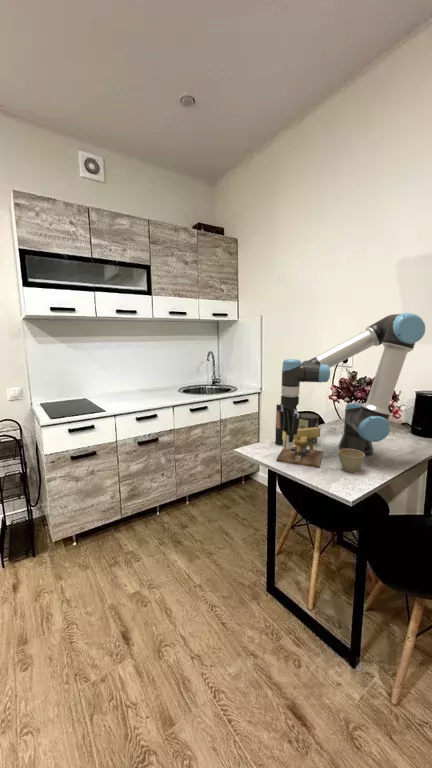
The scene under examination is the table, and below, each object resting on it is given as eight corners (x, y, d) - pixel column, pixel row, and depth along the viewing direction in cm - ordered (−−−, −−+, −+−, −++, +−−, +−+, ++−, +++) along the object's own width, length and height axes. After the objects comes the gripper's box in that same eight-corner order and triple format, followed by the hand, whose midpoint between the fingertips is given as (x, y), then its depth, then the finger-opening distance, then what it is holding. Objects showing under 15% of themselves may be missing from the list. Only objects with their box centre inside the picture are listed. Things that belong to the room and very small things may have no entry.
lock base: (322, 453, 155) (323, 441, 154) (319, 468, 138) (319, 454, 137) (284, 447, 161) (284, 436, 160) (276, 461, 145) (276, 448, 144)
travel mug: (290, 446, 163) (292, 407, 160) (274, 445, 165) (276, 406, 161) (290, 441, 170) (292, 403, 167) (275, 440, 172) (276, 402, 169)
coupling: (312, 443, 156) (313, 425, 154) (323, 448, 148) (324, 430, 147) (278, 447, 150) (279, 428, 148) (288, 453, 142) (288, 434, 141)
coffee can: (317, 440, 173) (319, 414, 171) (316, 446, 163) (318, 419, 161) (297, 438, 176) (298, 412, 174) (295, 444, 167) (296, 417, 164)
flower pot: (338, 463, 144) (339, 447, 143) (363, 466, 140) (364, 450, 139) (336, 472, 135) (338, 455, 133) (363, 476, 131) (365, 459, 130)
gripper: (273, 392, 148) (271, 443, 152) (293, 399, 134) (290, 454, 138) (287, 391, 151) (285, 441, 155) (308, 398, 137) (305, 452, 141)
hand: (287, 447), depth 146 cm, fingers closed on coupling, 2 cm apart
